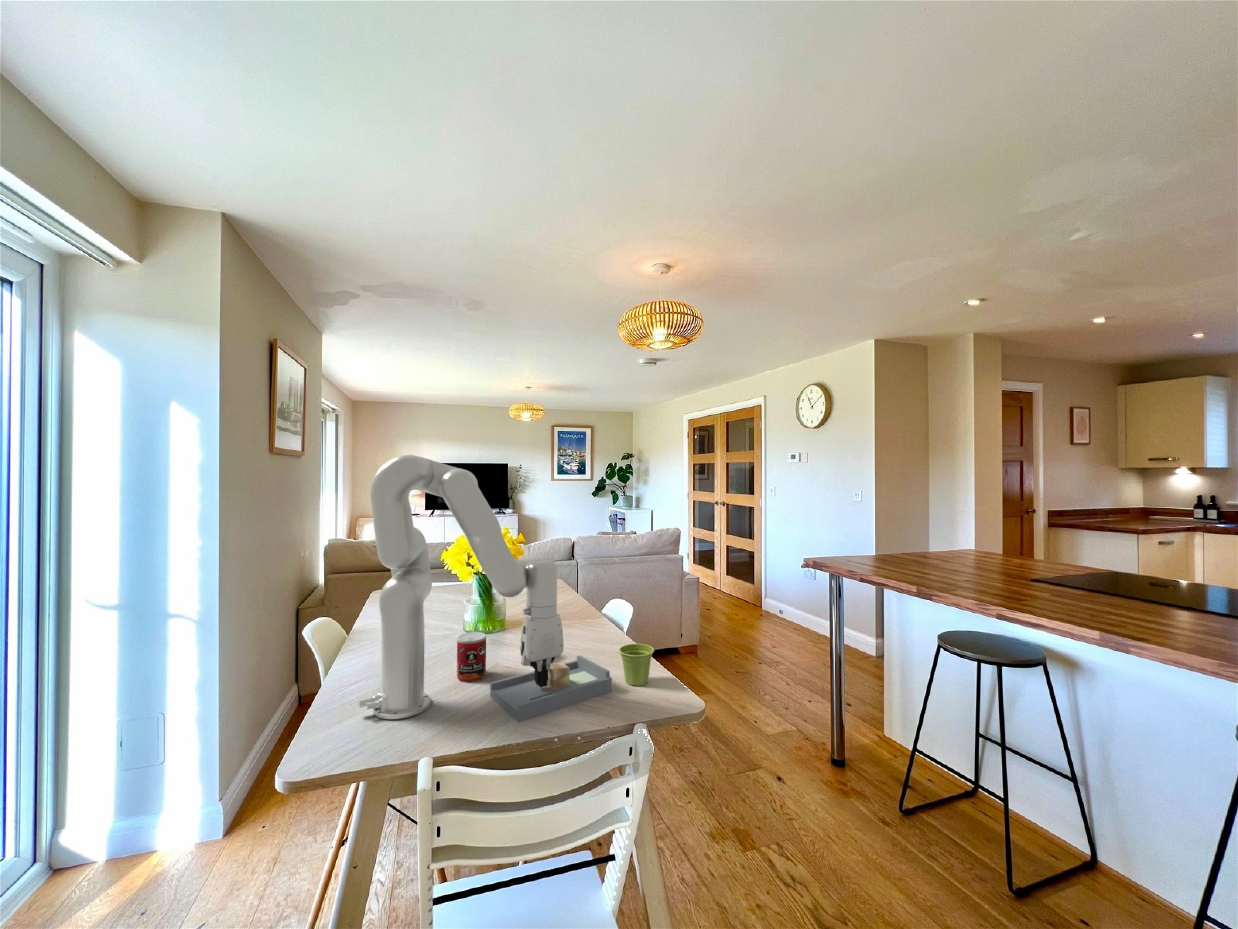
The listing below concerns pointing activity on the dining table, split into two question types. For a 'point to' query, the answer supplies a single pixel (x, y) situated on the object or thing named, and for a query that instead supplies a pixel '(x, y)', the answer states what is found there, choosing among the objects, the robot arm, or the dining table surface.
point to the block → (558, 676)
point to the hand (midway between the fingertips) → (541, 684)
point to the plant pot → (636, 663)
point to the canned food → (471, 656)
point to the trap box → (550, 690)
